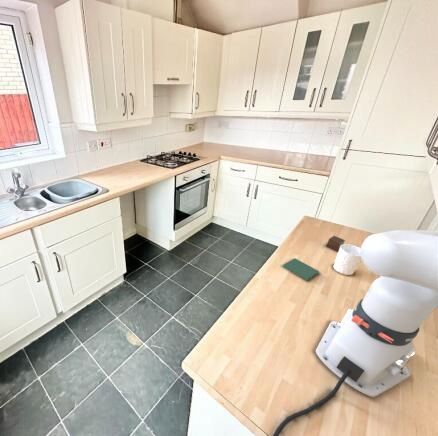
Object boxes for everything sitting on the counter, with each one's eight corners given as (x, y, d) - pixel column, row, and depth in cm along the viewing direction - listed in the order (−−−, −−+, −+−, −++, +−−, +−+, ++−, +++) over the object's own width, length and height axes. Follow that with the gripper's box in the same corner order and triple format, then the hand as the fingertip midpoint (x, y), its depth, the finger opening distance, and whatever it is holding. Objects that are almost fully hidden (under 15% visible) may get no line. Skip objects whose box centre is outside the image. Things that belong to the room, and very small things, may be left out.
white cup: (354, 267, 100) (364, 247, 95) (356, 278, 94) (367, 258, 89) (331, 261, 104) (339, 242, 99) (331, 271, 98) (340, 251, 93)
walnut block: (336, 251, 110) (340, 243, 108) (325, 246, 113) (329, 238, 111) (341, 248, 112) (345, 240, 110) (330, 243, 115) (334, 235, 113)
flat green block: (307, 281, 94) (307, 278, 93) (282, 266, 101) (283, 264, 101) (318, 273, 97) (319, 271, 97) (294, 260, 105) (294, 258, 104)
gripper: (483, 289, 62) (412, 292, 74) (501, 262, 71) (436, 269, 83) (468, 266, 63) (401, 273, 75) (487, 242, 72) (425, 252, 84)
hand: (419, 271), depth 79 cm, fingers closed
